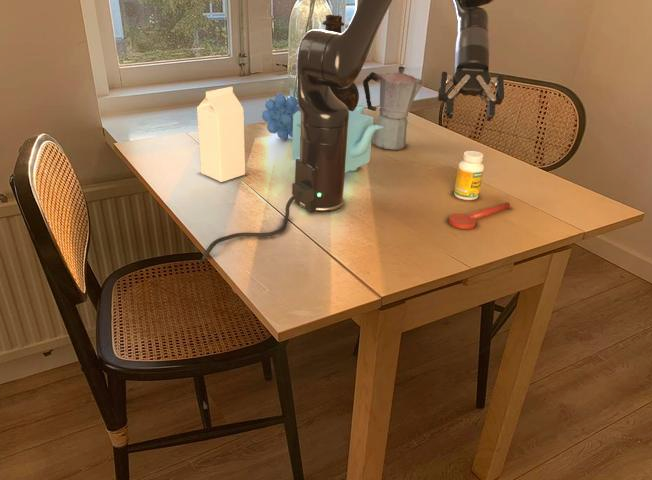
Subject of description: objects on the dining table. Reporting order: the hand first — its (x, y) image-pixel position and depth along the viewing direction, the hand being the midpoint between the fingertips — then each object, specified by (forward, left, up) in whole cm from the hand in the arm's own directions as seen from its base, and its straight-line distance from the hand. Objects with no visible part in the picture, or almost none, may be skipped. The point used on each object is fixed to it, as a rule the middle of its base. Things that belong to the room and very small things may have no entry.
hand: (470, 118), depth 129 cm
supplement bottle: (-7, -8, -14) cm, 18 cm away
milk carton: (-47, +29, -14) cm, 57 cm away
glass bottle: (0, +53, -14) cm, 55 cm away
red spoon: (-12, -17, -14) cm, 25 cm away
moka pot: (0, +26, -14) cm, 29 cm away
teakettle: (-23, +19, -14) cm, 33 cm away
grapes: (-22, +42, -14) cm, 49 cm away
